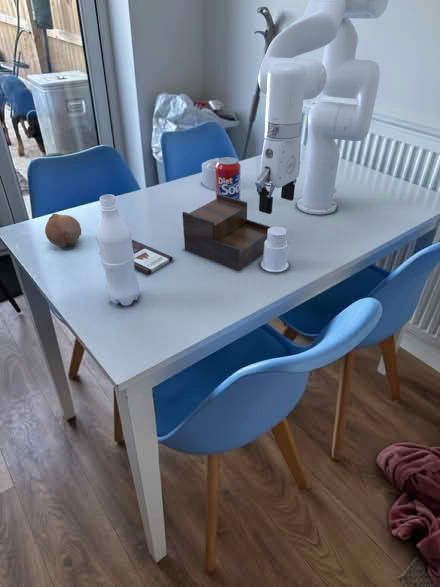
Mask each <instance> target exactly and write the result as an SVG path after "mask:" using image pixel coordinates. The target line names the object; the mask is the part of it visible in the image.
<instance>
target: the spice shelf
mask: <svg viewBox="0 0 440 587" xmlns="http://www.w3.org/2000/svg"><path fill="white" fill-rule="evenodd" d="M181 214H182V226H183V227H182V228H183V241H184V251H187V252H188V253H191V254H194V255H197V256H199V257H202V258H204V259H207V260H209V261H212V262H214V263H217V264H218V265H222V266H224V267H227V268H229V269H232V270H235V271H237V272H239V271H240V270H242V269H243V268H244V267H246V266H247V265H248V264H250V263H251V262H252V261H254V260H255V259H256V258H258V257H259V256H260V255H262V254H264V242H265V241H266V240H267V232H268V229H269V228H271V227H272V226H270V225H266V224H263V223H260V222H258V221H254V220H251V219H248V201H244V200H241V199H240V200H238V199H234V198H231V197H227V196H224V195H221V194H217V199H216V198H215V199H213V200H212V201H209V202H208V203H205V204H204V205H201V206H200V207H198V208H196V209H194V210H193V211H190V212H186V211H182V213H181Z"/></svg>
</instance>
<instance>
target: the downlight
mask: <svg viewBox="0 0 440 587" xmlns="http://www.w3.org/2000/svg"><path fill="white" fill-rule="evenodd" d="M270 227H271V228H269V229H268V232H267V240H266V241H265V242H264V252H263V259H262V260H261V262H260V266H261V268H262V269H263V270H265V271H267V272H270V273H281V272H285V270H288V269H289V263H288V261H287V260H288V259H287V258H288V247H289V242H288V241H287V232H288V231H287V229H286V228H284V227H282V226H270Z"/></svg>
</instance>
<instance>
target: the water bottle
mask: <svg viewBox="0 0 440 587" xmlns="http://www.w3.org/2000/svg"><path fill="white" fill-rule="evenodd" d="M99 203H100V206H99V210H100V211H101V217H100V219H99V222H98V225H97V228H96V233H95V237H96V238H95V239H96V241H97V245H98V249H99V256H100V263H101V265H102V267H103V268H104V269H103V270H104V272H105V276H106V277H105V278H106V284H105V285H106V286H105V287H106V293H107V296H108V298H109V300H110V301H111V302H112V303H113V304H114V305H117V306H118V305H120V304H121V305H122V306H125V307H128V306H130V305H131V304H133V303H134V301H137V300H138V298H139V295H140V282H139V280H138V278H137V274H136V269H135V268H134V258H135V255H134V252H133V246H132V240H133V239H132V231H131V228H130V226H129V225H128V223H127V222H126V221H125V219H124V218H123V217H122V215H121V214H120V212H119V210H118V209H119V205H118V203H117V202H116V196H115V195H114V194H108V193H107V194H103V195H100V197H99Z"/></svg>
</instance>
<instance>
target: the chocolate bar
mask: <svg viewBox="0 0 440 587" xmlns="http://www.w3.org/2000/svg"><path fill="white" fill-rule="evenodd" d="M132 246H133V252H134V255H135V258H134V270H136V271H139V272H141V273H143V274H145V275H147V276H148V275H149V274H152V273H153V272H155V271H157V270H158V269H160V268H162V267H164V266H165V265H167V264H169V263H170V262H172V261H173V256H172V255H169V254H166V253H165V252H162V251H159V250H157V249H155V248H153V247H151V246H148V245H146V244H143V243H141V242H139V241H136V240H135V239H132Z"/></svg>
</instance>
